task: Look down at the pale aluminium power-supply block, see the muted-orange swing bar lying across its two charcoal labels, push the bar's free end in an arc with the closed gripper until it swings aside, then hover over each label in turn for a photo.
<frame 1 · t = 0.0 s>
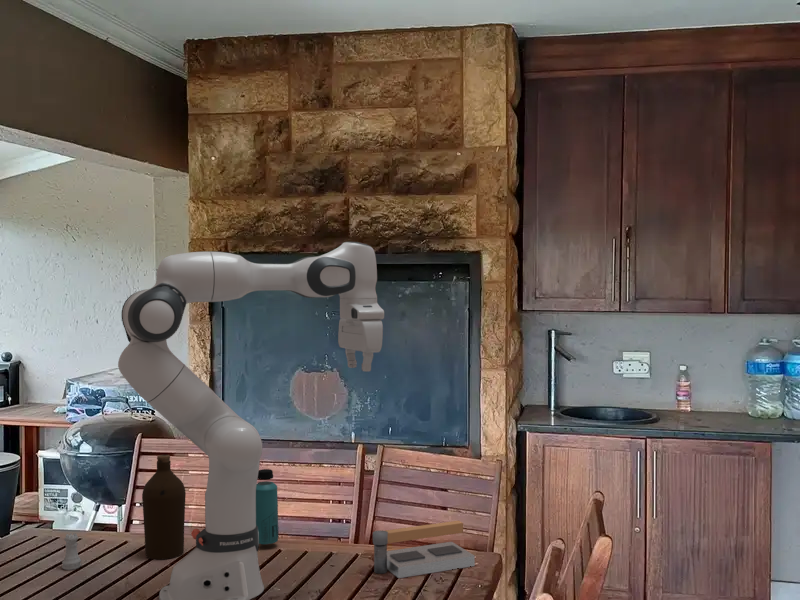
hand: (359, 369, 194), 48 cm above the table, fingers open, 8 cm apart
swing bar: (418, 532, 198), point 8 cm above the table, hinge at 0.0°
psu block: (426, 564, 199), on the table
rook chess piece: (71, 568, 199), on the table
beverage bottle: (266, 547, 214), on the table
olive oil: (164, 554, 209), on the table
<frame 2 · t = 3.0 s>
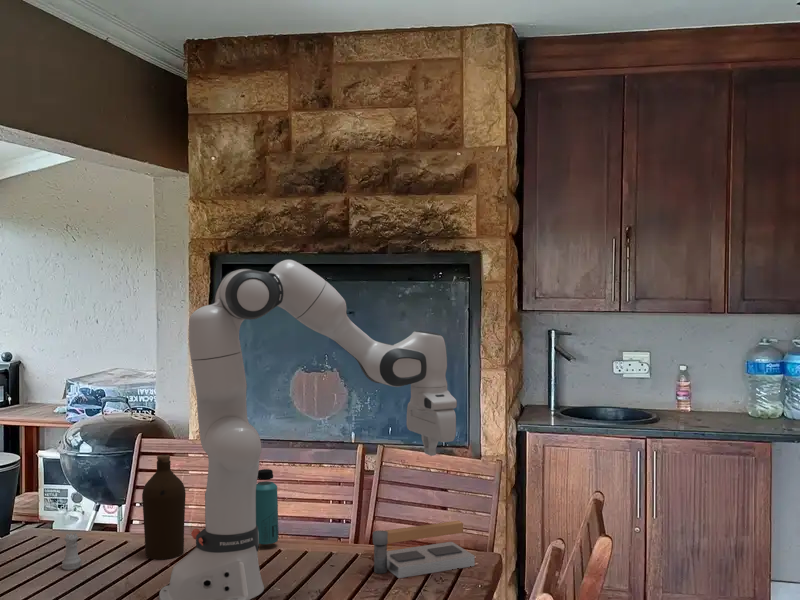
hand: (430, 454, 198), 27 cm above the table, fingers closed
nothing on the table moved.
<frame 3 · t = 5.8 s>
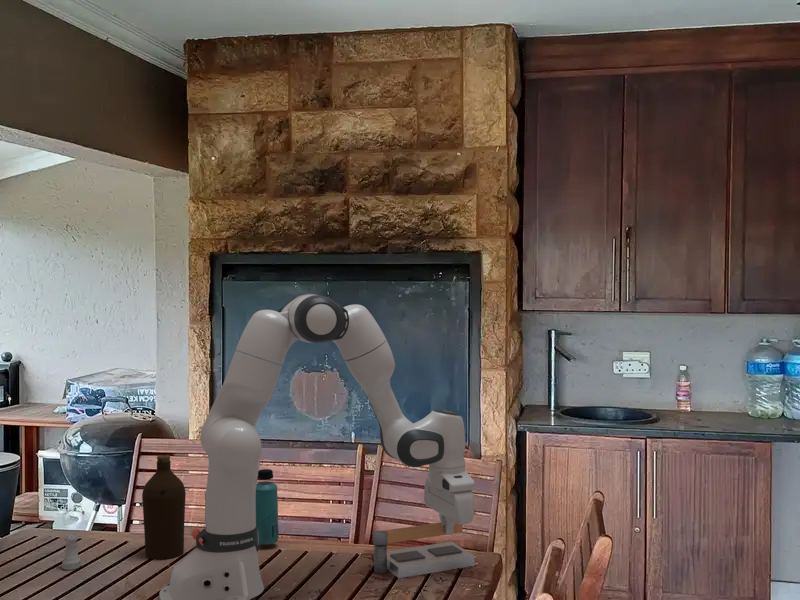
hand: (447, 533, 199), 8 cm above the table, fingers closed
swing bar: (417, 532, 198), point 8 cm above the table, hinge at 1.2°, touching gripper
everything else where it was.
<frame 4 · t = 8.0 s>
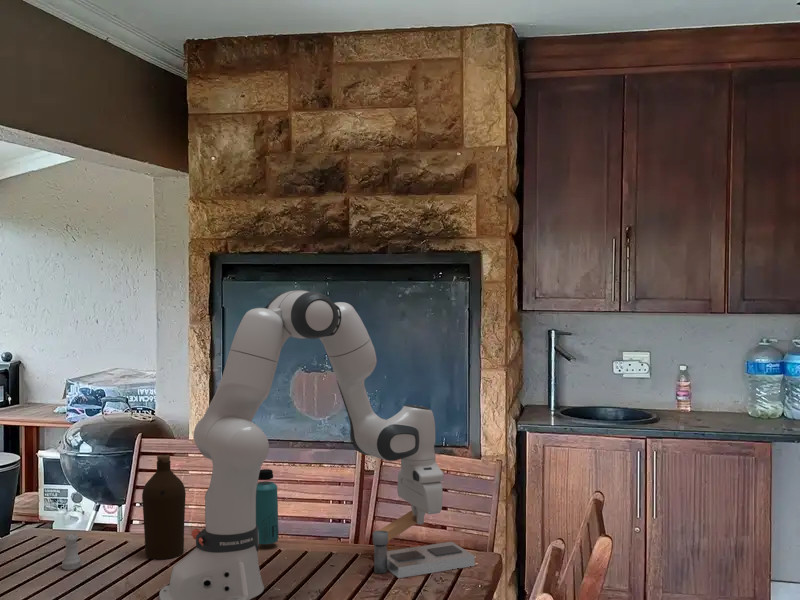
hand: (418, 522, 208), 8 cm above the table, fingers closed
swing bar: (398, 526, 203), point 8 cm above the table, hinge at 41.3°, touching gripper
everything else where it was.
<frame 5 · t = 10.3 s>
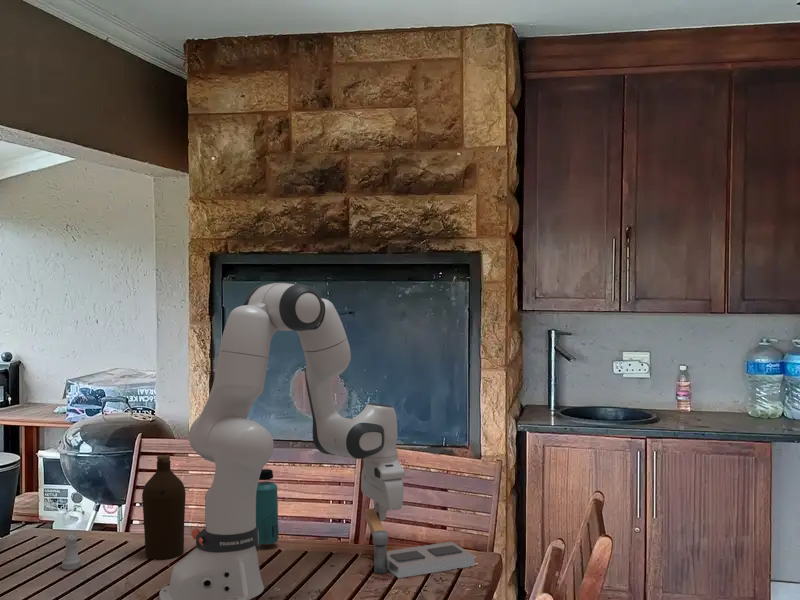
hand: (381, 519, 211), 8 cm above the table, fingers closed
swing bar: (375, 525, 204), point 8 cm above the table, hinge at 75.3°, touching gripper
everything else where it was.
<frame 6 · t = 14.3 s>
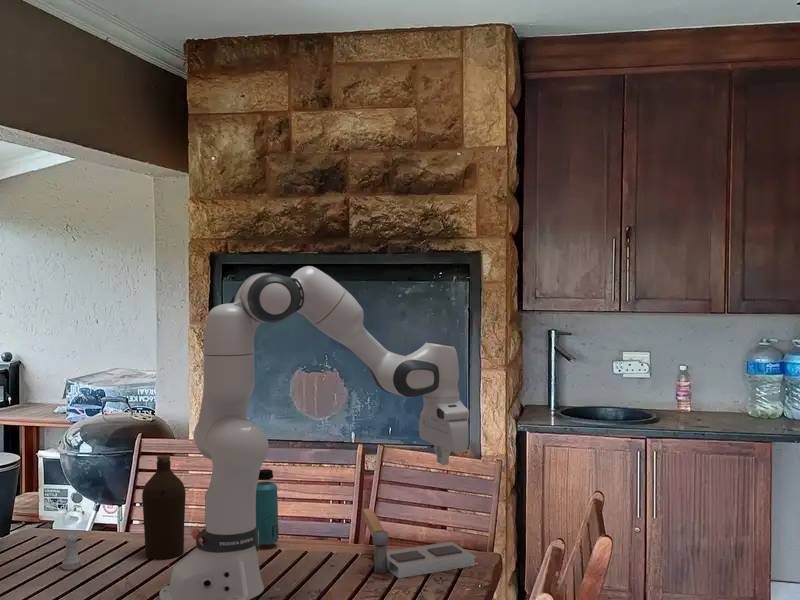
hand: (442, 463, 201), 24 cm above the table, fingers closed
swing bar: (374, 525, 204), point 8 cm above the table, hinge at 76.9°
everything else where it was.
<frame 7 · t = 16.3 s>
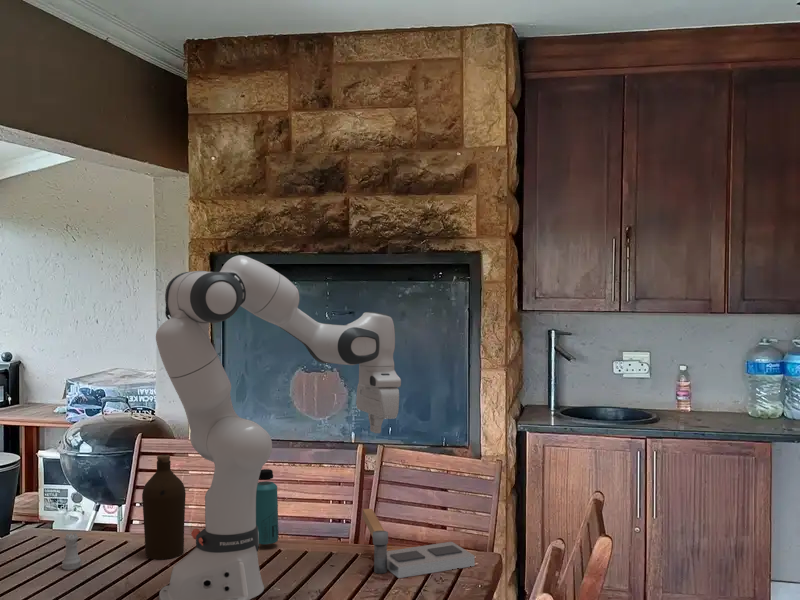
hand: (375, 432, 205), 31 cm above the table, fingers closed
nothing on the table moved.
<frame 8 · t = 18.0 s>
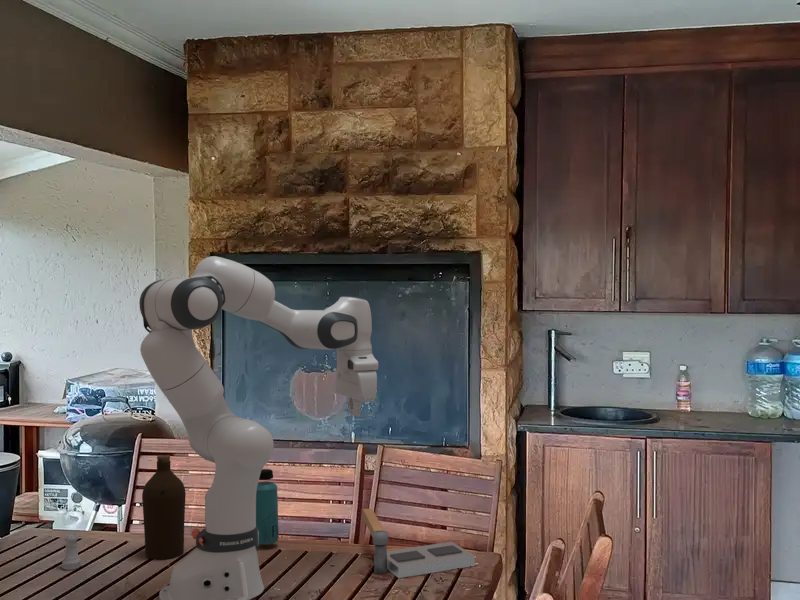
hand: (355, 415, 206), 35 cm above the table, fingers closed
nothing on the table moved.
at the end: swing bar at +77° (first picture: +0°); beverage bottle moved 0.2 cm from its start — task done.
